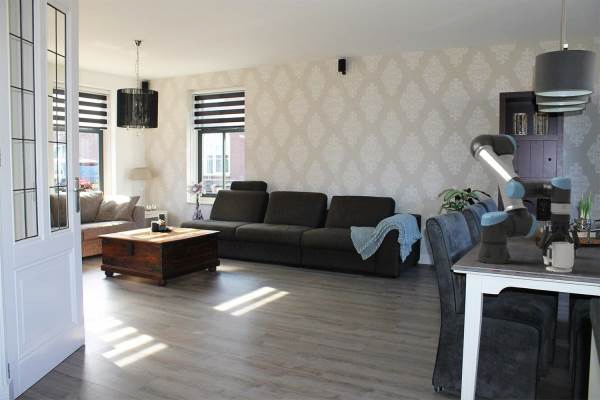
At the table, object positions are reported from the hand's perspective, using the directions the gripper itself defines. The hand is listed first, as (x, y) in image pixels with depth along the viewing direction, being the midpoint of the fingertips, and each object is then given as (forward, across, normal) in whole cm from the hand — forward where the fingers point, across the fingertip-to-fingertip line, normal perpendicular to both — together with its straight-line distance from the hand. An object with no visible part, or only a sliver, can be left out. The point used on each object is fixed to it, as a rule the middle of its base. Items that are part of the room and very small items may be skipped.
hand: (558, 263), depth 221 cm
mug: (+3, +16, +36) cm, 39 cm away
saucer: (+3, 0, 0) cm, 3 cm away
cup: (+1, -1, 0) cm, 1 cm away
